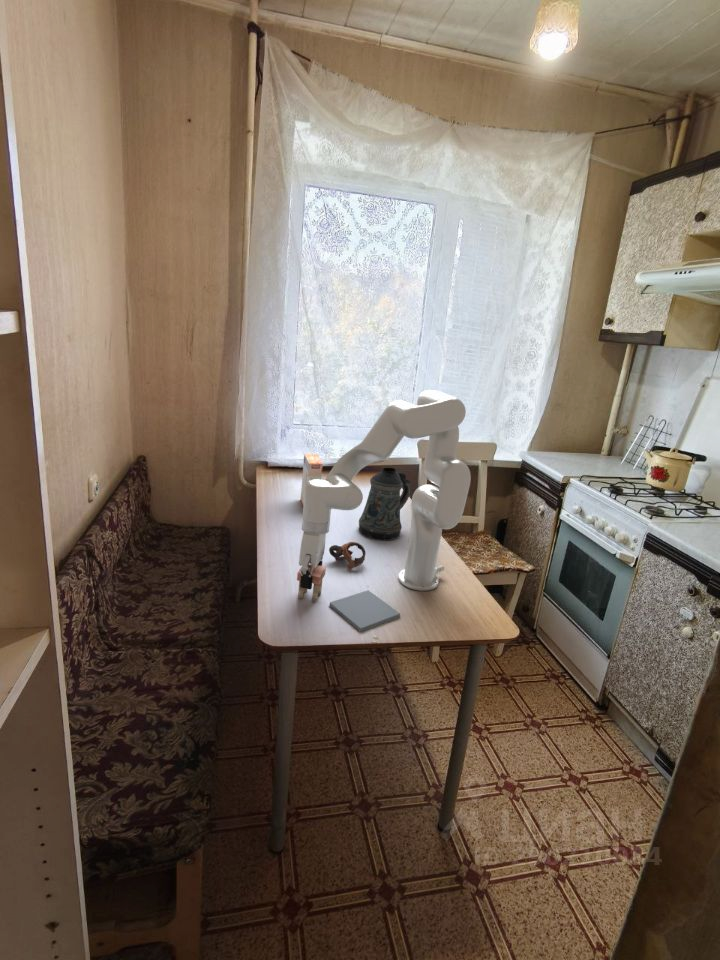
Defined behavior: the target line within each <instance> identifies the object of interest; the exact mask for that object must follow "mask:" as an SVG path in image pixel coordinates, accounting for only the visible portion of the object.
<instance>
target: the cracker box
mask: <svg viewBox="0 0 720 960" xmlns="http://www.w3.org/2000/svg"><path fill="white" fill-rule="evenodd" d="M302 466H303V467H302V479H301V488H300V490H301V491H300V502H301V505H302V506H303V505H304V492H305V485H306V483H307V482H308V481H310V480H315V479H319V480H322V475H323V474H322V473H323V466H324V464H323V462H322V460H321V458H320V457H319V455H318V454H316V453H304V454H303V465H302Z"/></svg>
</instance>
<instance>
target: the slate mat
mask: <svg viewBox="0 0 720 960" xmlns="http://www.w3.org/2000/svg"><path fill="white" fill-rule="evenodd" d="M329 607H330V608H332V609H333V610H334V611H335V612H336V613H337V614H339V615H340V616H341V617H342V618H343V619H344V620H346V621H347V622H348V623H350V625H351V626H353V627H355V629H356V630H358V631H359V632H363V631H365V630H368V629H371V628H374V627H376V626H379V625H381V624H384V623H386V622H389V621H392V620H395V619H397V618H399V617H400V616H401V613H400V612H399V611H397V610H396V609H395V608H393V607H392V606H390V605H389V603H387V602H385V601H384V600H383V599H381V598H380V597H378V596H377V595H376V594H375V593H373V592H372V591H370V590H368V589H366V590H364V591H361V592H358V593H354V594H352V595H349V596H347V597H343V598H340V599H336V600H333V601H330V602H329Z"/></svg>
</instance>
